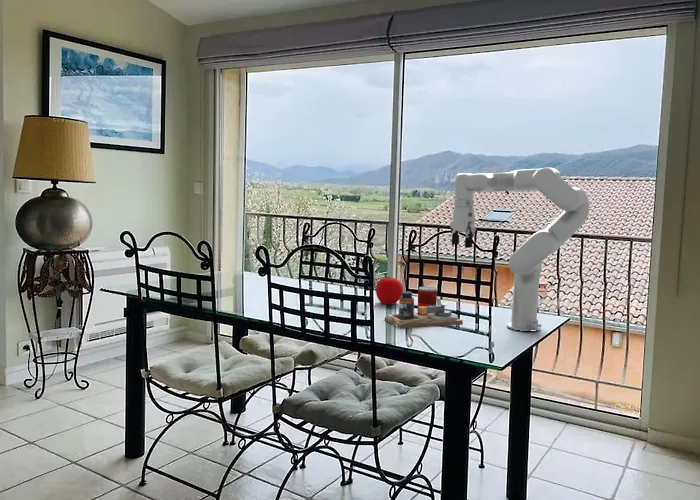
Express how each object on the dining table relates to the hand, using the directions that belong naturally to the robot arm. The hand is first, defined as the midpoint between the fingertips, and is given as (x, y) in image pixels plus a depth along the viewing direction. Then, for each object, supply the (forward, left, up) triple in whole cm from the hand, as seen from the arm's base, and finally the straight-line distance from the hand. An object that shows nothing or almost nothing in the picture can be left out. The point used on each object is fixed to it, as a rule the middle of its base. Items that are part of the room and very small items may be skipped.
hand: (461, 245), depth 260 cm
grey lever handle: (-1, +12, -28) cm, 30 cm away
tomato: (+34, +15, -31) cm, 48 cm away
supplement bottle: (-1, +25, -29) cm, 38 cm away
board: (-1, +17, -30) cm, 35 cm away
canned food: (+12, +8, -31) cm, 34 cm away
